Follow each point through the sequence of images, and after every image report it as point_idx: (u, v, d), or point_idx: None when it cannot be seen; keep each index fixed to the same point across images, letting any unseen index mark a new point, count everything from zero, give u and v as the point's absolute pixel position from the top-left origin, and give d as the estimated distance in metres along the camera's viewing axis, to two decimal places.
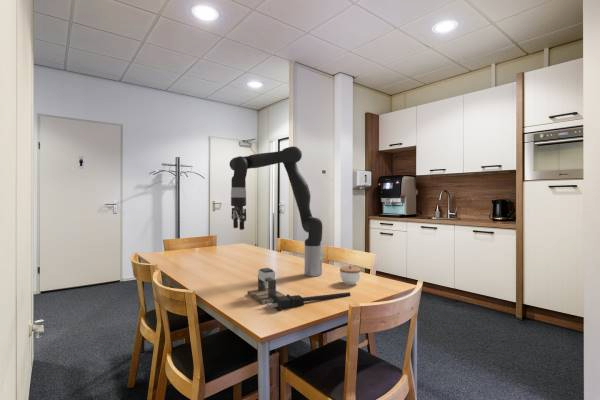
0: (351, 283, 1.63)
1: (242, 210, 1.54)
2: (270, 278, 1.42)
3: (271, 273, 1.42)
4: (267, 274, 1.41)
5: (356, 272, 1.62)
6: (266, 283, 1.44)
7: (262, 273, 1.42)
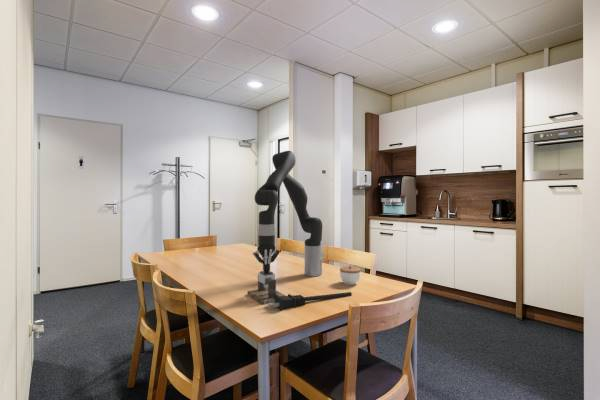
0: (351, 283, 1.63)
1: None
2: None
3: (271, 276, 1.42)
4: (267, 277, 1.41)
5: (356, 272, 1.62)
6: (266, 286, 1.44)
7: (262, 276, 1.42)
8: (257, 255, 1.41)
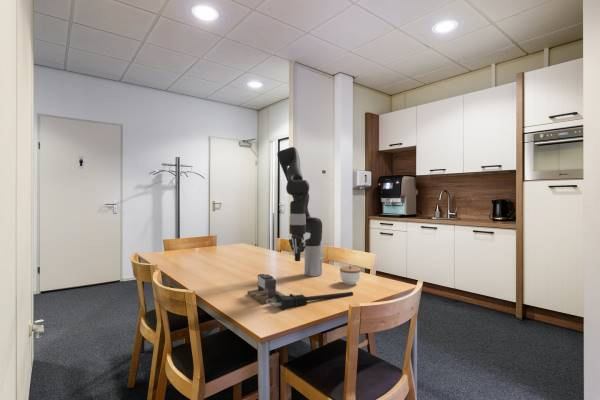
0: (351, 283, 1.63)
1: None
2: None
3: None
4: (267, 281, 1.41)
5: (356, 272, 1.62)
6: (266, 290, 1.44)
7: (262, 280, 1.42)
8: None
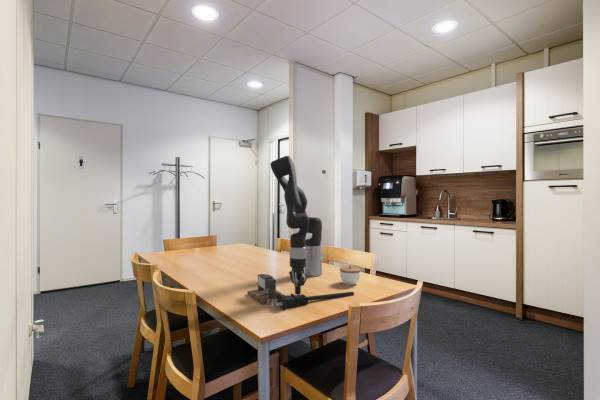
0: (351, 283, 1.63)
1: None
2: None
3: None
4: (267, 281, 1.41)
5: (356, 272, 1.62)
6: (266, 290, 1.44)
7: (262, 280, 1.42)
8: None
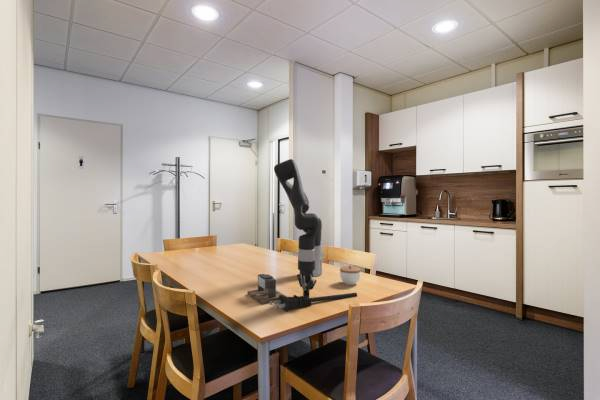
0: (351, 283, 1.63)
1: None
2: None
3: None
4: (267, 281, 1.41)
5: (356, 272, 1.62)
6: (266, 290, 1.44)
7: (262, 280, 1.42)
8: None
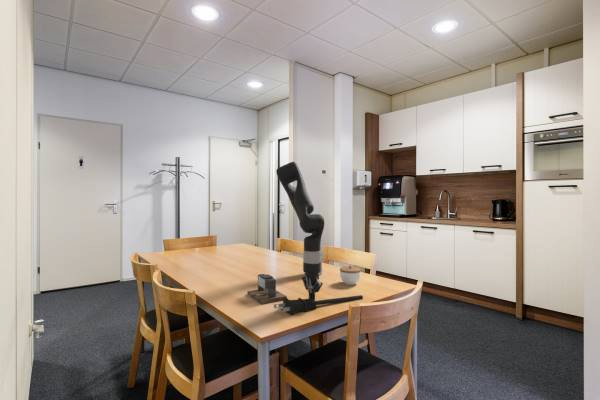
0: (351, 283, 1.63)
1: None
2: None
3: None
4: (267, 281, 1.41)
5: (356, 272, 1.62)
6: (266, 290, 1.44)
7: (262, 280, 1.42)
8: None
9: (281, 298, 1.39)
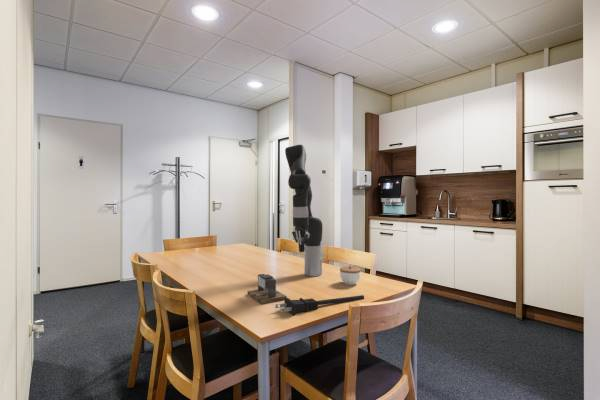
0: (351, 283, 1.63)
1: None
2: None
3: None
4: (267, 281, 1.41)
5: (356, 272, 1.62)
6: (266, 290, 1.44)
7: (262, 280, 1.42)
8: None
9: (281, 298, 1.39)
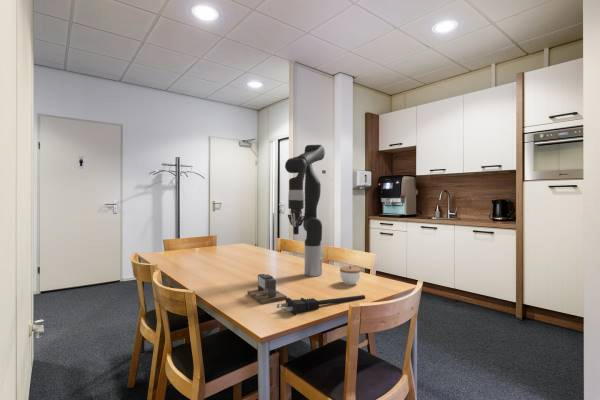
0: (351, 283, 1.63)
1: None
2: None
3: None
4: (267, 281, 1.41)
5: (356, 272, 1.62)
6: (266, 290, 1.44)
7: (262, 280, 1.42)
8: None
9: (281, 298, 1.39)
